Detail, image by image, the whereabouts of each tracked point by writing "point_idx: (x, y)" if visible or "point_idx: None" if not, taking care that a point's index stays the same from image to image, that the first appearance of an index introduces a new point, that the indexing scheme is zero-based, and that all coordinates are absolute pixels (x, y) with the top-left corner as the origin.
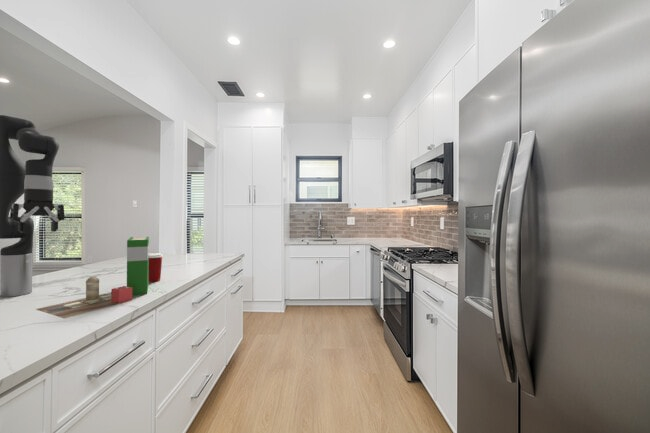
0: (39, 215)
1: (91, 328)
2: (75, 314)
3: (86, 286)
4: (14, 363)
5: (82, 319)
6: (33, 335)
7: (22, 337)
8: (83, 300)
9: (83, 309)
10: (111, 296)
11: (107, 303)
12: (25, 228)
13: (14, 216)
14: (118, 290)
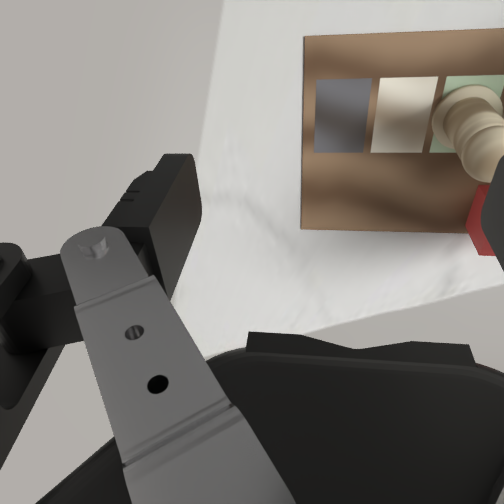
0: (392, 346)
1: (295, 325)
2: (332, 223)
3: (460, 144)
4: None
5: (318, 268)
6: (220, 276)
7: (204, 270)
8: (436, 112)
9: (372, 197)
10: (484, 195)
11: (450, 198)
12: (189, 247)
13: (8, 375)
14: (479, 252)
